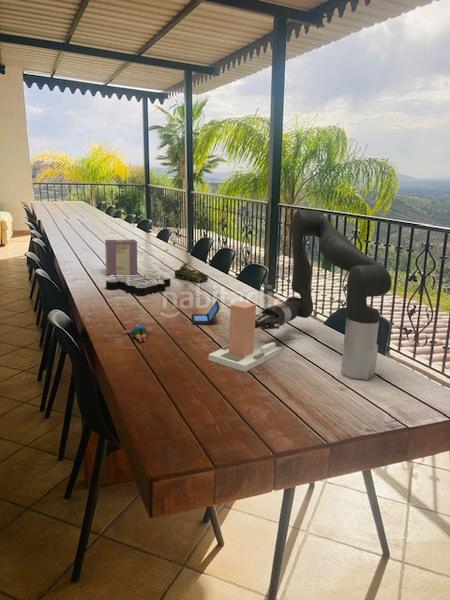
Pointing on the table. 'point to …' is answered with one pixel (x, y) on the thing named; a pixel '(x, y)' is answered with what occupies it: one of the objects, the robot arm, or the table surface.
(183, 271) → the toy vehicle
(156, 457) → the table surface
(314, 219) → the robot arm
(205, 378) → the table surface
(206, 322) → the object
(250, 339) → the block
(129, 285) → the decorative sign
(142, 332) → the toy character
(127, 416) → the table surface
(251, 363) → the white stand base
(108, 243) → the box
